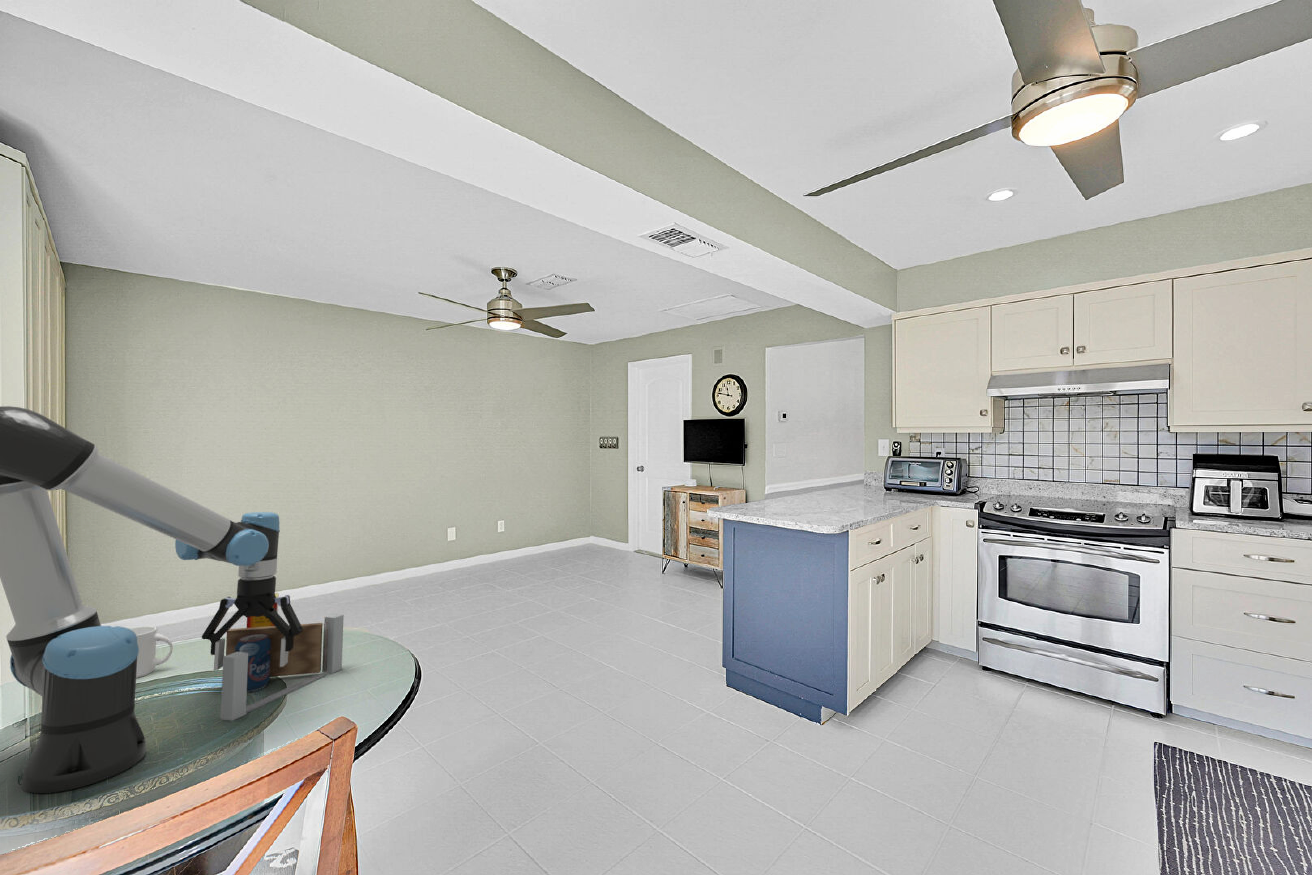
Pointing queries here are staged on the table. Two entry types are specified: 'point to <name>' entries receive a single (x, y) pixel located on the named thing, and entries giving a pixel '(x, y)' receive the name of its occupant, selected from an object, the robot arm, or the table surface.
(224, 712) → the gray u-shaped frame
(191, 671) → the table surface
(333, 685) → the table surface
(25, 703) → the table surface
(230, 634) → the door
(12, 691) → the table surface
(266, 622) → the baking soda box
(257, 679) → the soda can
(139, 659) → the mug
